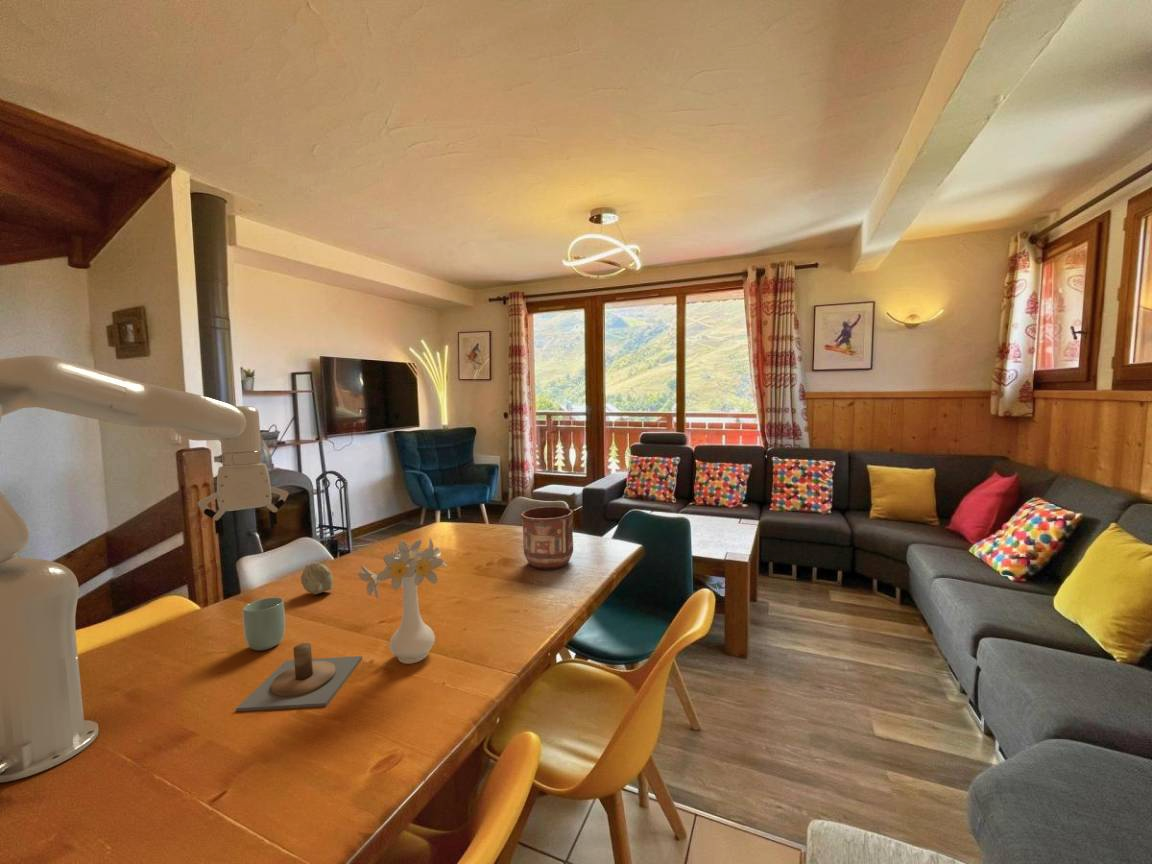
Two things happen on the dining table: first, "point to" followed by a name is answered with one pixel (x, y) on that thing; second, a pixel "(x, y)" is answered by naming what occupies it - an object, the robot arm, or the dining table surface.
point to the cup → (264, 623)
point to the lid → (303, 674)
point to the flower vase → (408, 597)
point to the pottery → (548, 536)
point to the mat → (317, 698)
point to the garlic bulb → (317, 578)
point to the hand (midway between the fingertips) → (247, 532)
